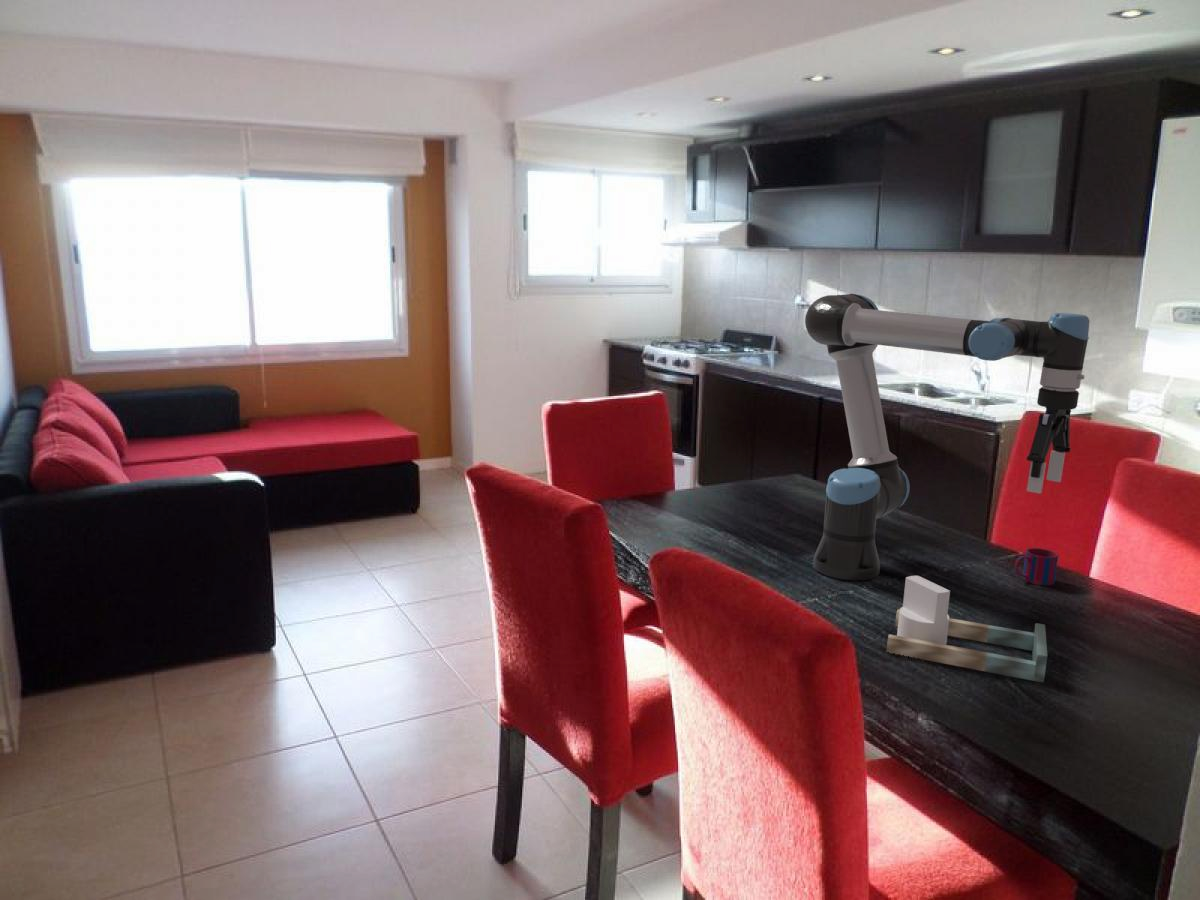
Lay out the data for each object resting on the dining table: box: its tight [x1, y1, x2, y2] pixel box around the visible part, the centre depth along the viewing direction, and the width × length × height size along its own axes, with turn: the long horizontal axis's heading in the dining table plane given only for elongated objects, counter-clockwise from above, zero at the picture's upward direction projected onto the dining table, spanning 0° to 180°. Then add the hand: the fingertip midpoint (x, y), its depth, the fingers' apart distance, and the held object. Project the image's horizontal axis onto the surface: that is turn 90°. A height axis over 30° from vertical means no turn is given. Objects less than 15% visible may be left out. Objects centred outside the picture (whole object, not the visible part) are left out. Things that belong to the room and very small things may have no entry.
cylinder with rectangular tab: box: [896, 575, 951, 645], centre depth 172 cm, size 9×9×12 cm
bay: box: [886, 608, 1048, 683], centre depth 170 cm, size 27×15×5 cm, turn 66°
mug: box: [1014, 547, 1059, 587], centre depth 207 cm, size 7×10×7 cm
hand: (1044, 486), depth 193 cm, fingers open, 13 cm apart
